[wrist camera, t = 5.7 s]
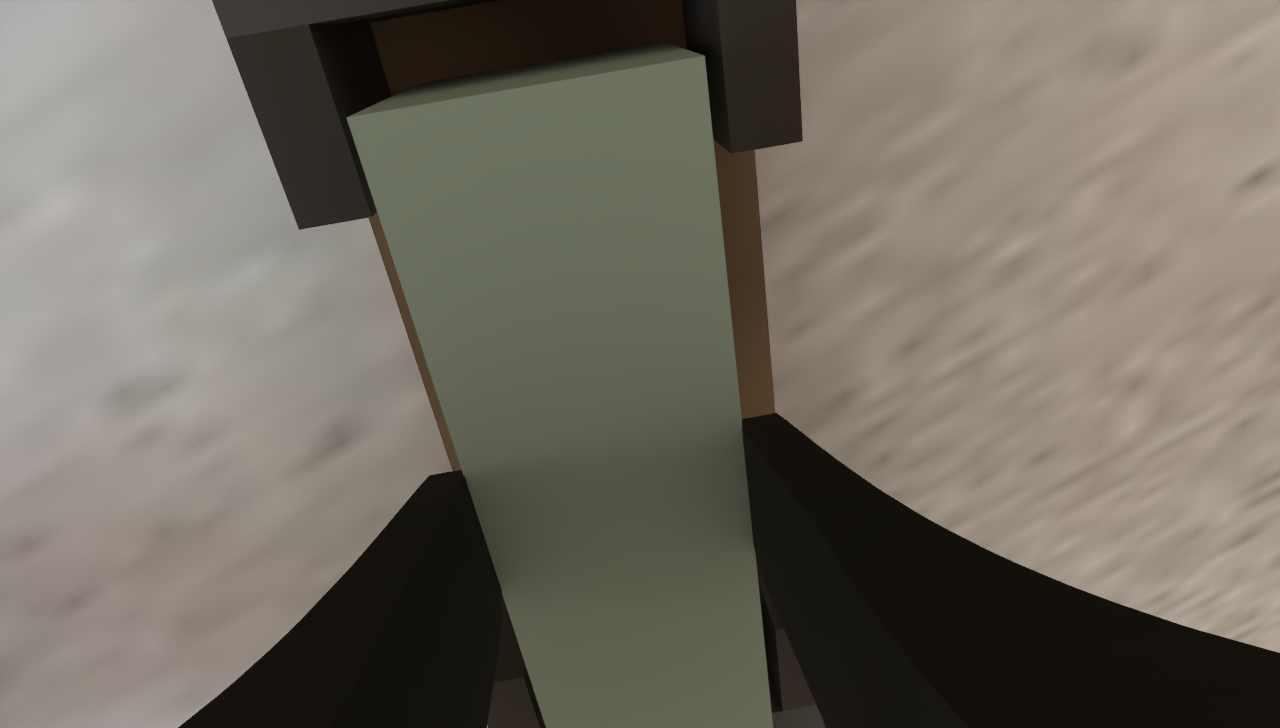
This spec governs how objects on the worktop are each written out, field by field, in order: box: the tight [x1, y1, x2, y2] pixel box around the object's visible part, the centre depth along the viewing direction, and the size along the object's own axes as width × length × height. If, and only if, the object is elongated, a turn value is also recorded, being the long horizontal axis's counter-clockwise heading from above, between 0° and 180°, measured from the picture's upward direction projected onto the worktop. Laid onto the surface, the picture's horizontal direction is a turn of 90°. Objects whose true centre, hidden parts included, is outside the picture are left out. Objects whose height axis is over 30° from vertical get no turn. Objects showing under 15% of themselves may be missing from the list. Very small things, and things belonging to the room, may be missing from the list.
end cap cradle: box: [212, 0, 826, 728], centre depth 14 cm, size 7×16×4 cm, turn 9°
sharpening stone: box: [347, 42, 773, 728], centre depth 12 cm, size 4×12×4 cm, turn 9°
